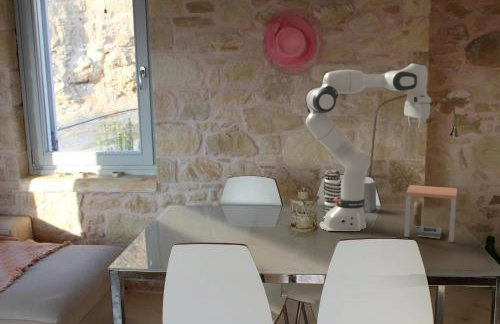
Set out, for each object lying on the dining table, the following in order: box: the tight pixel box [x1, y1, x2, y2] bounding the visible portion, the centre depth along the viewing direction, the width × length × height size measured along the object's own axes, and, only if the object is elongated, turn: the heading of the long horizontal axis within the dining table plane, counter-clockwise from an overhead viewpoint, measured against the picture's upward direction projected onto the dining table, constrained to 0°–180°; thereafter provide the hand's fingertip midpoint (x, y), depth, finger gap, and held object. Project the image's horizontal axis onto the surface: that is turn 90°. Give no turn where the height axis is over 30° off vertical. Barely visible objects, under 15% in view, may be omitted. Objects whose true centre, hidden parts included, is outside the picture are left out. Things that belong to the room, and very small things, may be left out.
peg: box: [413, 201, 423, 226], centre depth 259 cm, size 4×4×12 cm
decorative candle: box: [323, 168, 342, 219], centre depth 274 cm, size 9×9×25 cm
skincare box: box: [364, 180, 377, 213], centre depth 289 cm, size 8×7×16 cm
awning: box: [403, 184, 458, 241], centre depth 244 cm, size 15×21×22 cm
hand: (415, 126), depth 257 cm, fingers open, 8 cm apart
